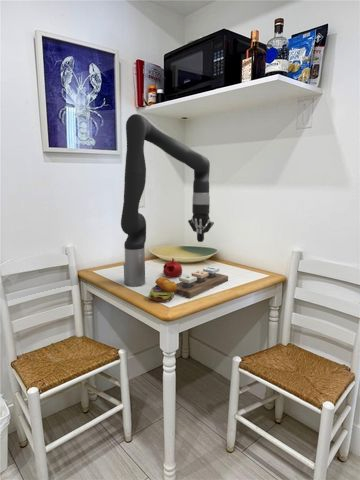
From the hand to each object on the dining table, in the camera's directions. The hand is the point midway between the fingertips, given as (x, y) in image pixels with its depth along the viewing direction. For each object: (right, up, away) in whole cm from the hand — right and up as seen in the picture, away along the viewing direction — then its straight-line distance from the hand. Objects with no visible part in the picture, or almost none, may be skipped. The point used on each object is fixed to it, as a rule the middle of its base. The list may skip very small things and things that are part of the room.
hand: (200, 241), depth 150 cm
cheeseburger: (-16, -24, -11) cm, 31 cm away
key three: (+6, -17, +10) cm, 21 cm away
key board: (0, -21, +4) cm, 21 cm away
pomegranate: (-13, -18, +20) cm, 29 cm away
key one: (-6, -20, -3) cm, 21 cm away
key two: (0, -18, +4) cm, 19 cm away
